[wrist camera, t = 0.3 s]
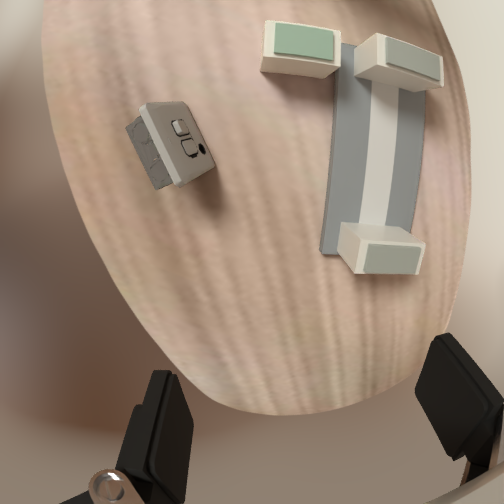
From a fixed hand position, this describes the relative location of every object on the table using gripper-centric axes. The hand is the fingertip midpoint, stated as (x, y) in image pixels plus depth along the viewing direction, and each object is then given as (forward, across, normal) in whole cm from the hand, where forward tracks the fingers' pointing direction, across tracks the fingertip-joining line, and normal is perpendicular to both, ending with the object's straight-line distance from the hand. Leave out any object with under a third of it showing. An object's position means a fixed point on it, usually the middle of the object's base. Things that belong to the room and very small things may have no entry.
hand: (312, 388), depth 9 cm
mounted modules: (+28, -16, -6) cm, 33 cm away
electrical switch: (+30, +9, -9) cm, 33 cm away
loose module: (+30, -5, -19) cm, 36 cm away
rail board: (+30, -16, -6) cm, 34 cm away
